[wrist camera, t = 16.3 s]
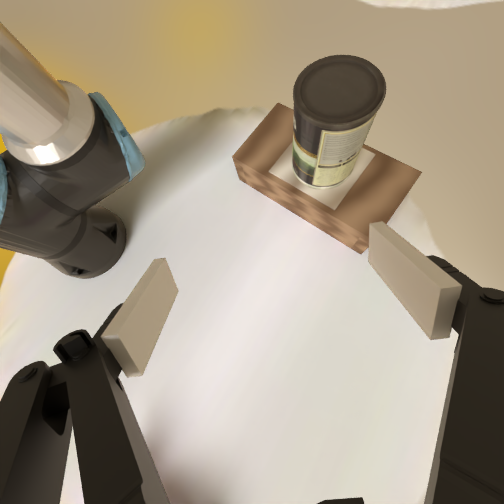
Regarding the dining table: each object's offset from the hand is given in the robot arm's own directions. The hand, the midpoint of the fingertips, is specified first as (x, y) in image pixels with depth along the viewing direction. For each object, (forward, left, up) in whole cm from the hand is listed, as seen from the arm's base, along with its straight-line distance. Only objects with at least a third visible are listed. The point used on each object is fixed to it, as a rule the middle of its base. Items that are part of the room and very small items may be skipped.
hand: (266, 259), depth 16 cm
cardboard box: (-7, +22, -30) cm, 38 cm away
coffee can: (-7, +22, -22) cm, 32 cm away
